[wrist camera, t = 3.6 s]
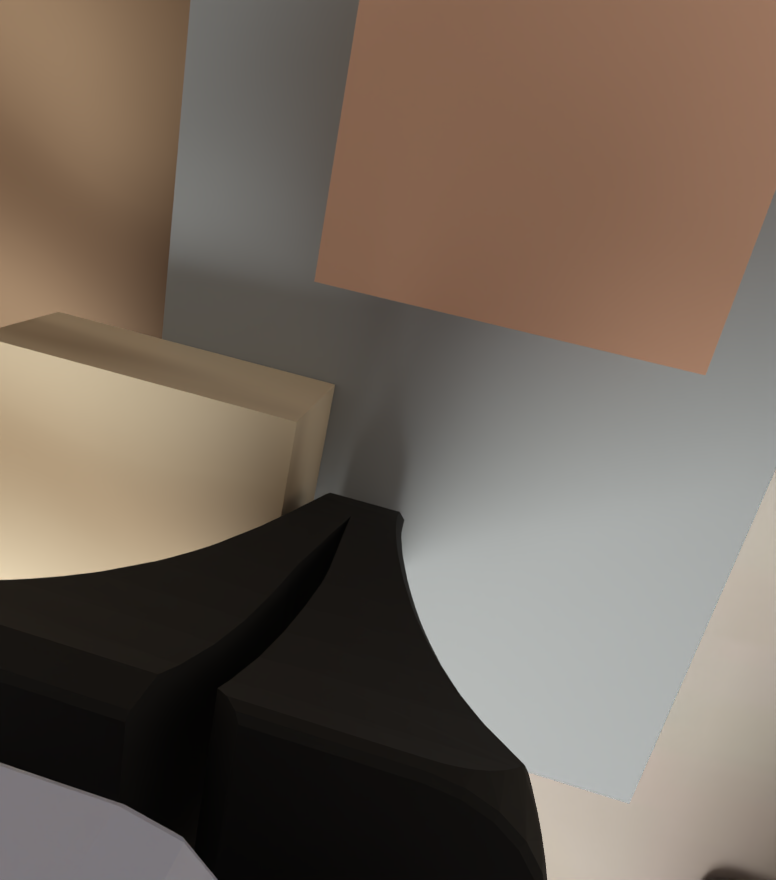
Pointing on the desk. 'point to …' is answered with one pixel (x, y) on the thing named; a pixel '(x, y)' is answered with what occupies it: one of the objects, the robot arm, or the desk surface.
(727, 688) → the desk surface
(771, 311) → the slate slab
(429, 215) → the terracotta tile
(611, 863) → the desk surface
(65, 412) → the ash tile
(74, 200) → the walnut box
